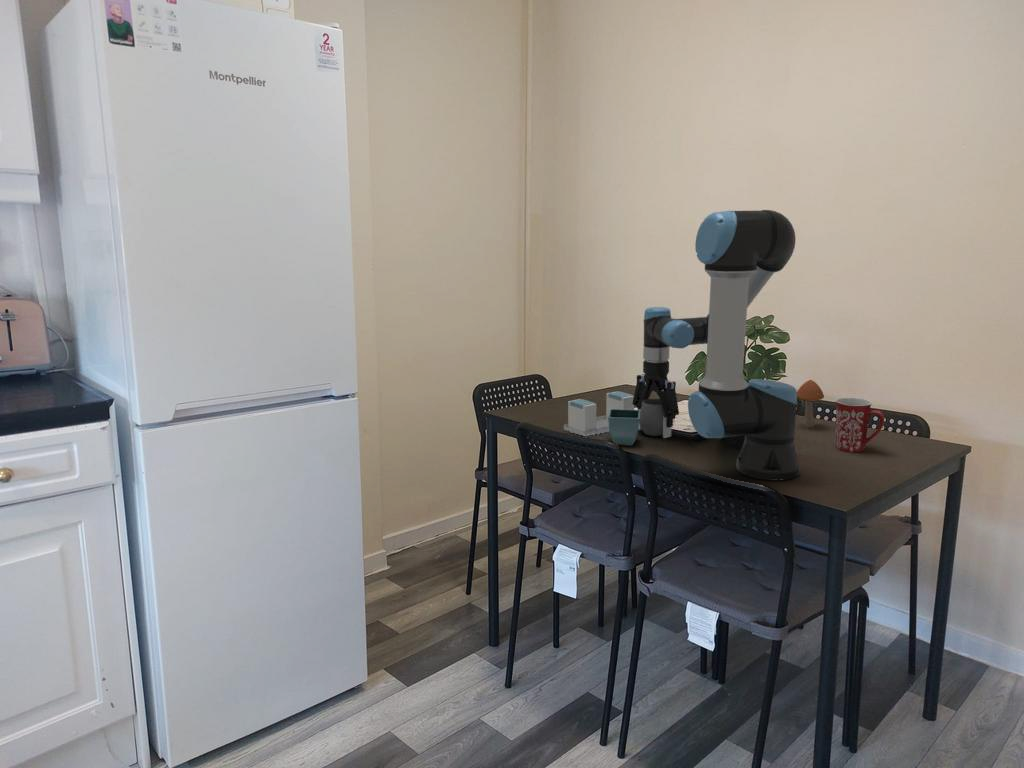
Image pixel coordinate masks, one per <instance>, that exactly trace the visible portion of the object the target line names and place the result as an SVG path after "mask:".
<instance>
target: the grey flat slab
mask: <svg viewBox="0 0 1024 768" xmlns="http://www.w3.org/2000/svg"><path fill="white" fill-rule="evenodd" d="M563 431H566V432H568V431H569V432H568V433H571V434H573V433H575V434H574V435H576V434H579V435H583V436H589V435H593V436H596V435H595V434H597V435H601V434H600V433H602V434H606V433H610V432H609V422H608V418H606V415H600V416H596V429H592V430H587V431H583V432H582V431H580V430H577V429H574V428H571V427H569V426H568V423H565V424H563ZM605 432H606V433H605ZM579 435H578V436H579ZM589 437H590V436H589Z"/></svg>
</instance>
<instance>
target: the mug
mask: <svg viewBox="0 0 1024 768" xmlns="http://www.w3.org/2000/svg"><path fill="white" fill-rule="evenodd" d="M872 403H873V402H872V401H871V400H869V399H864V398H860V397H839V398H836V399H835V404H836V406H835V448H836V449H838V450H840V451H843V452H847V453H848V452H849V453H859V452H864V451H865V449H866V444H868V443H869V442H871V441H872V440H873V439H874V438H875V437H876V436H877V435H879V433H880V432H881V430H883V427H884V424H885V416H884V414H883V413H882V412H881V411H879V410H876V409H875V410H871V406H872ZM873 415H877V416H878V417H879V422H880V423H879V425H878V427H877V429H876V430H875V431H874V432H873V434H871V435H870V436H869V437H867V435H868V427H869V420H870V419H871V417H872V416H873Z"/></svg>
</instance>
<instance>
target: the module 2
mask: <svg viewBox="0 0 1024 768" xmlns="http://www.w3.org/2000/svg"><path fill="white" fill-rule="evenodd" d="M633 398H634V395H633V394H630V393H627V392H623V391H619V390H618V391H612V392H607V393H606V398H605V399H606V408H605V409H606V411H605V412H606V418H608V416H609V412H610V409H622V410H635V405H633Z"/></svg>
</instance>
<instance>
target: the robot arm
mask: <svg viewBox="0 0 1024 768" xmlns="http://www.w3.org/2000/svg"><path fill="white" fill-rule="evenodd" d="M694 244H695V252H696V258H697V259H698V260H699V261H700V263H702V264H704V271H705V273H706V274H707V275H708V276H709V277H710V289H709V304H708V305H709V307H708V314H707V316H702V317H700V316H697V317H688V318H687V317H685V318H673V317H672V315H671V312H672V311H671V309H670V307H669V308H668V307H664V306H663V307H662V306H652V307H651V306H650V307H648V308H645V310H644V317H643V350H642V351H643V352H642V353H643V354H642V355H643V362H642V372H643V373H642V374H638V375H636V385H635V390H634V395H633V396H634V398H633V405H634V406H635V407H636V408H637V410H640V411H641V406H642V401H643V400H645V399H650V397H651V394H652V393H653V392H655V393H656V395H657V396H658V397H659V398H658V399H660V401H661V404H662V406H663V409H664V412H665V416H663V435H662V438H663V439H666V438H670V437H672V427H673V426H674V416H678V415H679V414H680V411H679V404H678V399H677V392H676V388H677V387H676V383H677V382H676V381H670V380H669V379H668V374H669V373H670V361H669V360H670V348H672V349H684V348H687V347H689V346H694V345H706V361H705V362H706V363H705V366H706V367H705V376H703V377H702V378H701V379H700V380H699V381H698V391H697V390H696V391H693V392H692V393H691V394H689V395H690V396H689V397H688V401H687V410H688V416H689V419H690V422H691V424H692V426H693V429H694V430H695V431H696V432H697V434H699V436H701V437H703V438H705V439H722V438H729V437H737V436H739V437H740V436H744V441H743V444H742V446H741V449H740V450H739V454H738V455H737V457H736V466H735V467H736V470H737V471H738V472H739V473H740V474H742V475H744V476H746V477H750V478H754V479H757V478H760V479H759V480H763V479H777V480H776V481H781V480H780V479H788V480H791V479H790V478H792V479H794V477H795V478H797V477H798V476H799V474H800V462H799V457H798V454H797V451H796V446H795V432H796V429H795V428H796V418H797V417H796V416H797V415H796V414H797V405H798V397H797V391H798V390H797V389H796V387H794V386H793V385H791V384H788V383H785V382H781V381H777V380H772V379H771V380H770V379H761V378H760V379H759V378H752V379H750V380H748V382H747V381H746V379H744V377H743V374H744V359H745V358H744V357H745V345H746V332H747V331H746V329H747V316H748V315H747V314H748V308H749V307H750V305H751V304H752V303H753V301H754V299H756V298H757V296H759V293H760V292H761V291H762V289H763V288H764V287H765V286H766V285H767V283H768V282H769V281H770V279H771V277H772V276H773V275H774V274H775V273H779V272H780V271H782V270H783V269H784V267H786V265H787V264H788V262H789V261H790V260H791V258H792V256H793V253H794V250H795V249H796V232H795V227H793V224H792V222H791V221H790V220H789V218H788V217H787V216H785V215H784V214H782V213H781V212H778V211H775V210H770V209H762V210H729V209H728V210H723V211H715V212H712V213H710V214H708V215H707V216H706V217H705V218H704V219H703V221H702V222H701V224H700V226H699V227H698V230H697V234H696V238H695V243H694ZM638 431H643V430H642V428H641V426H640V424H639V427H638ZM796 476H797V477H796Z"/></svg>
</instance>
